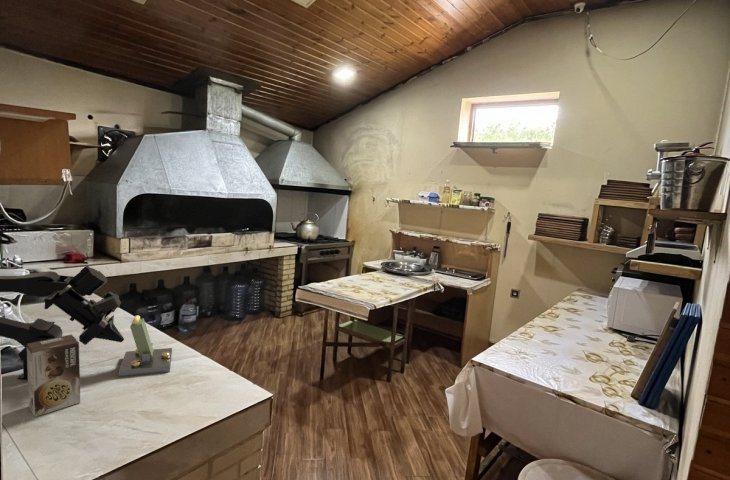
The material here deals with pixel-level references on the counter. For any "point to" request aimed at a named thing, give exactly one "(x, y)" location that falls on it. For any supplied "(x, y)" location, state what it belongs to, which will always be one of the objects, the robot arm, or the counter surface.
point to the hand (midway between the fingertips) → (122, 340)
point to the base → (146, 362)
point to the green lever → (141, 336)
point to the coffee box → (53, 374)
